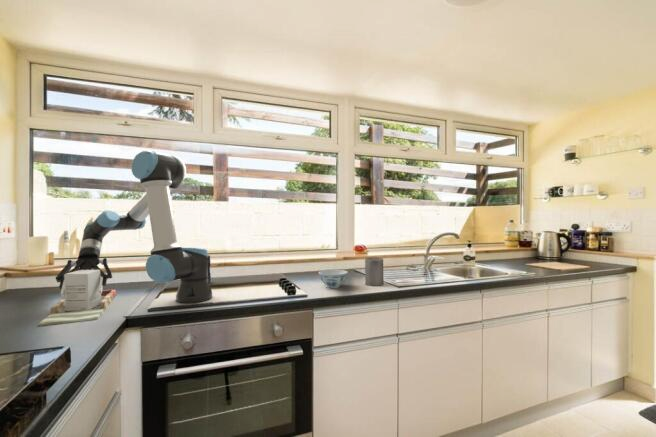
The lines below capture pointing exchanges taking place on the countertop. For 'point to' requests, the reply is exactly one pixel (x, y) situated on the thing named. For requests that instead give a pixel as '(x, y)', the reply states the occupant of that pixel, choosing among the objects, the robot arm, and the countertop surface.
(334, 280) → the chinaware
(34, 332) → the countertop surface
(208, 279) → the storage jar
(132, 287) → the countertop surface
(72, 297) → the supplement box
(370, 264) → the pillar candle
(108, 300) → the track
